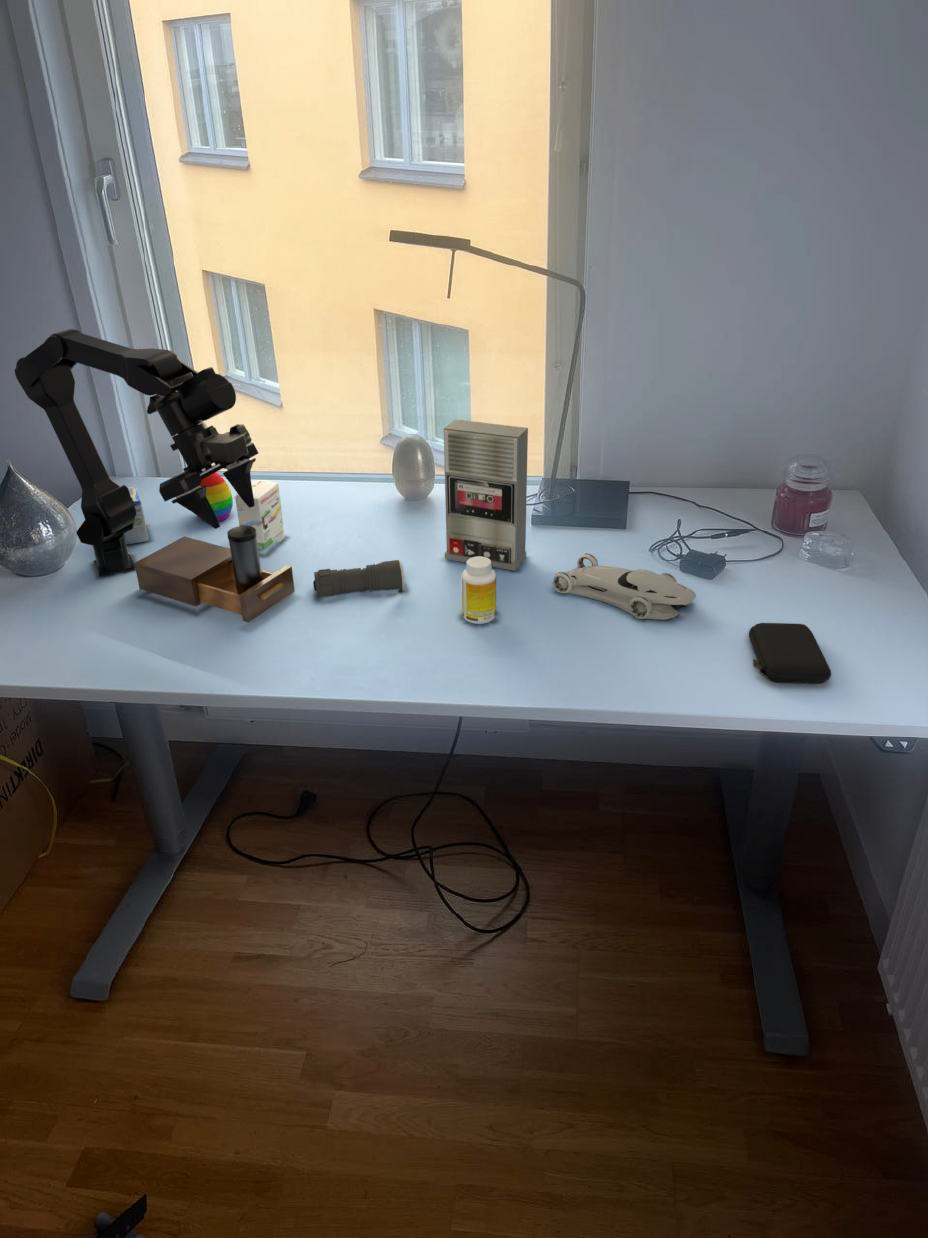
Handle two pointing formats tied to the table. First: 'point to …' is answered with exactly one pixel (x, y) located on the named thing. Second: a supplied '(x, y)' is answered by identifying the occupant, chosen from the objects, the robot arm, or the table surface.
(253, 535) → the canister
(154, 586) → the drawer unit
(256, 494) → the ink box
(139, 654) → the table surface
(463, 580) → the supplement bottle
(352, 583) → the flashlight
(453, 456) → the cassette tape recorder
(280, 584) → the drawer
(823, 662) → the carrying case
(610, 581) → the car model
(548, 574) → the table surface
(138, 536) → the medicine box
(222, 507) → the decorative egg
